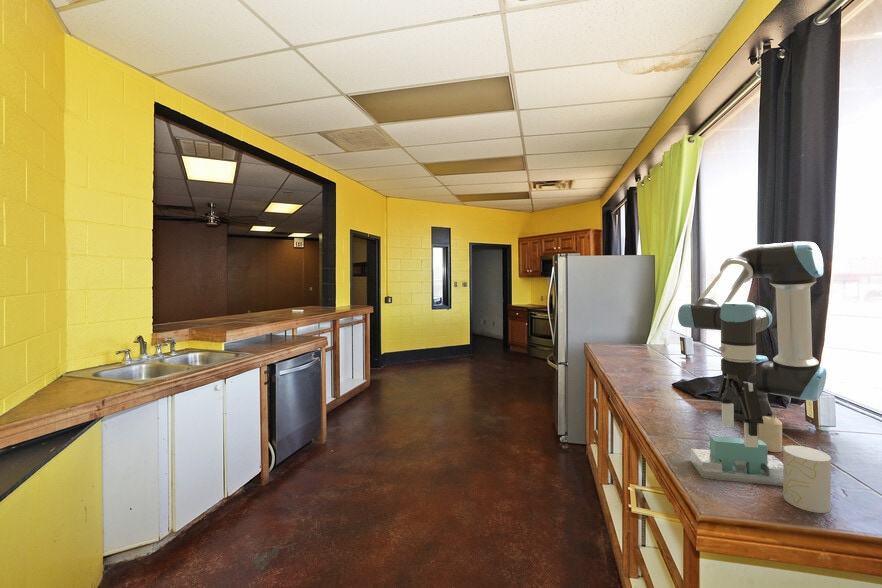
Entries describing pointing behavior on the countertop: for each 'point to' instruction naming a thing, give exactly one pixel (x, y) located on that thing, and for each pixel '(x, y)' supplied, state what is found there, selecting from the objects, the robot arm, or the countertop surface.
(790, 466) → the cup
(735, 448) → the teal notched block
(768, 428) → the candle
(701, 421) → the countertop surface
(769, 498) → the countertop surface
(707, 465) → the white block holder tray
